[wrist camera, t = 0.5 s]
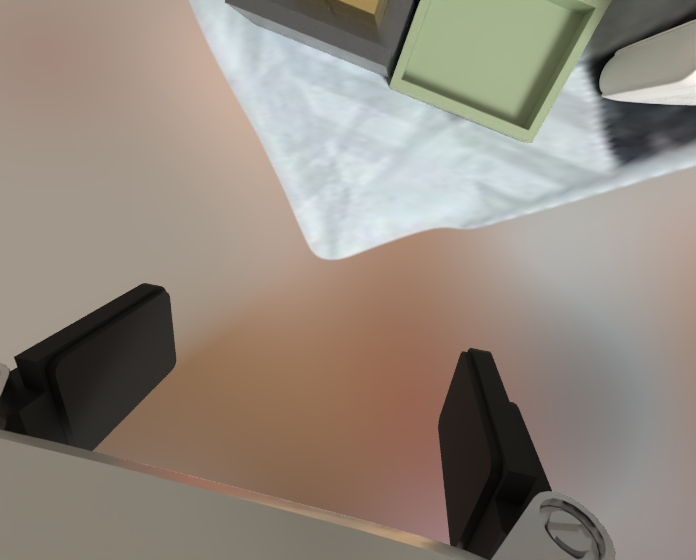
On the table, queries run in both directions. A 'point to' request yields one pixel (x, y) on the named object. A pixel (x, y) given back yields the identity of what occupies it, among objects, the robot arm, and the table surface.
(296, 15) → the channel
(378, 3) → the yellow cube
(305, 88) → the table surface
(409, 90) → the chip tray
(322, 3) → the yellow wooden cube
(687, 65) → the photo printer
